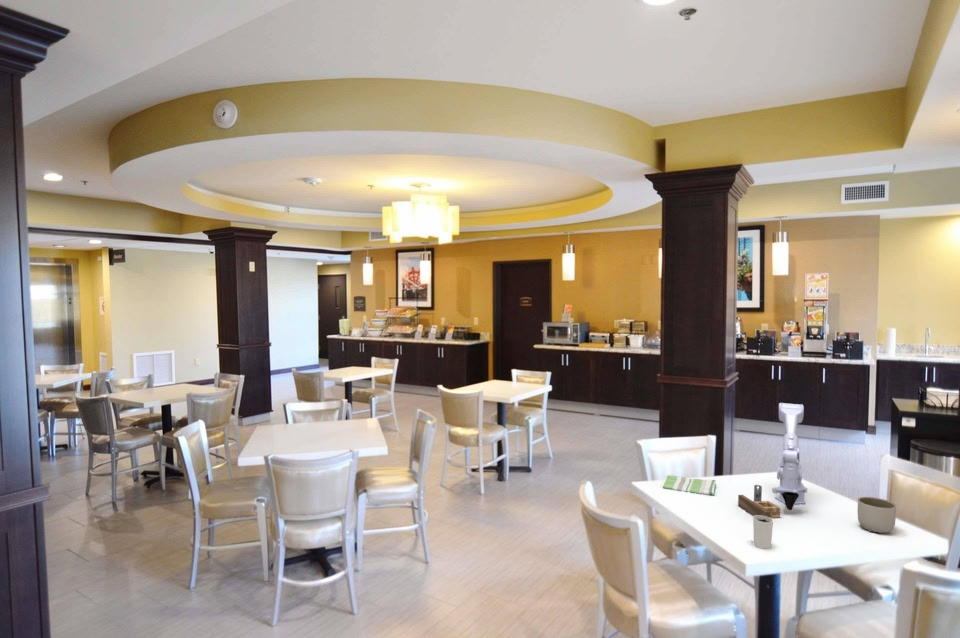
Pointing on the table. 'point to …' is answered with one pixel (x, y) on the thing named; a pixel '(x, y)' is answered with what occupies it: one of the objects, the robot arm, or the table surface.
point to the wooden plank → (751, 507)
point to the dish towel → (690, 485)
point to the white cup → (762, 531)
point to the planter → (876, 514)
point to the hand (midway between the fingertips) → (789, 509)
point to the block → (770, 508)
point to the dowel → (757, 492)
